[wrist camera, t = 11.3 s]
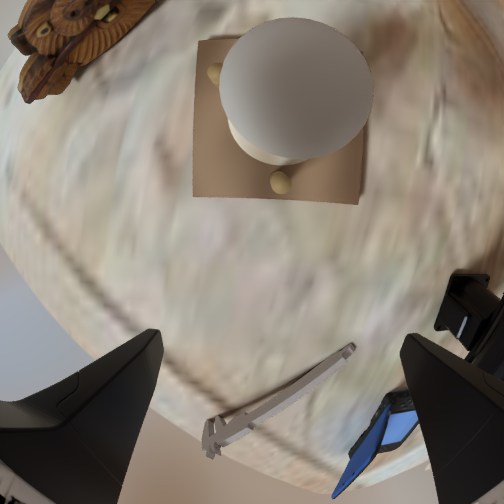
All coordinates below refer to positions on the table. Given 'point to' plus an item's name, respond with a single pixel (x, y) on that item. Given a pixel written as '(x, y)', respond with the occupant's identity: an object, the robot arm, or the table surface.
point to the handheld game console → (380, 435)
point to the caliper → (269, 406)
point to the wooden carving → (67, 39)
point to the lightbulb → (296, 88)
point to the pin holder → (259, 151)
